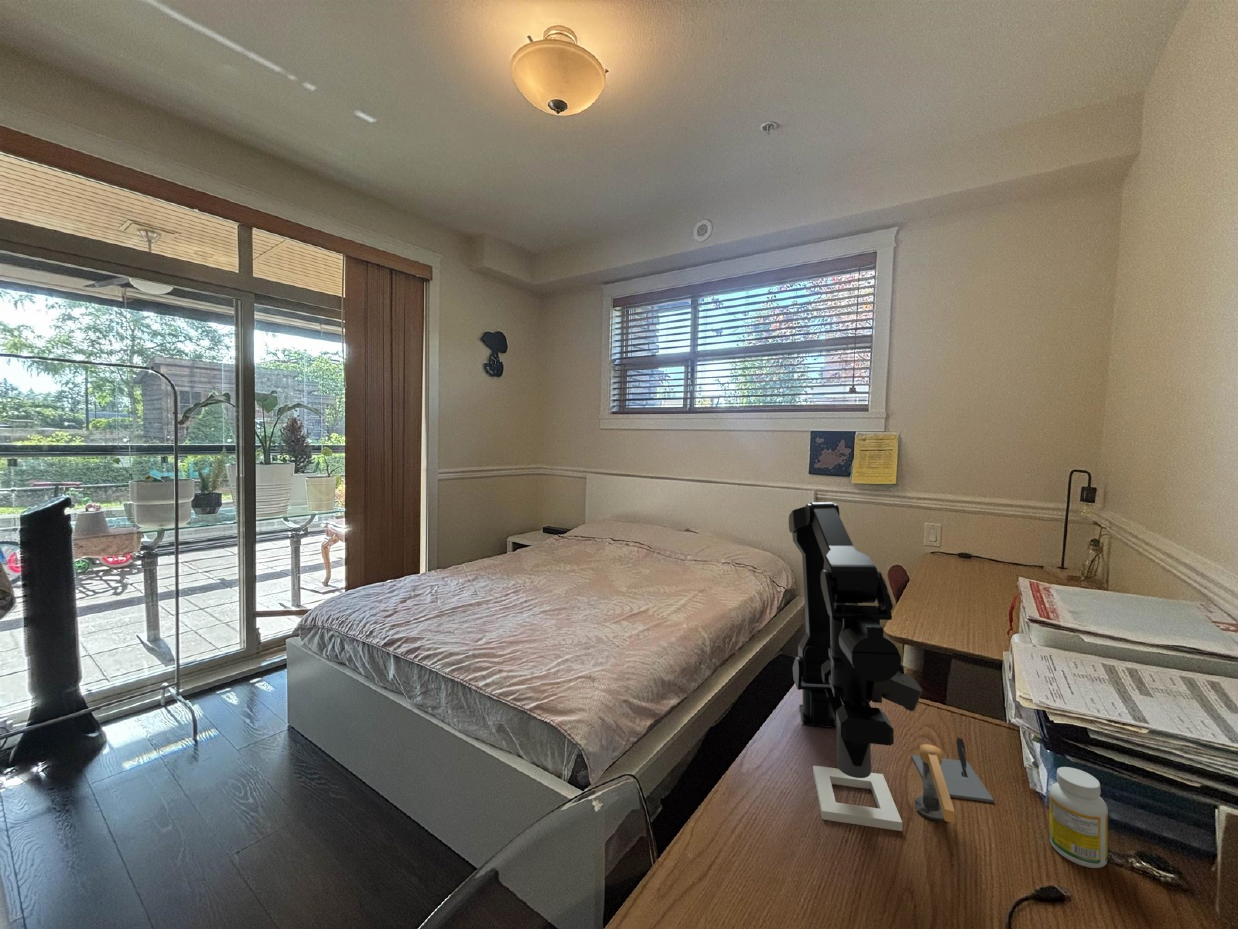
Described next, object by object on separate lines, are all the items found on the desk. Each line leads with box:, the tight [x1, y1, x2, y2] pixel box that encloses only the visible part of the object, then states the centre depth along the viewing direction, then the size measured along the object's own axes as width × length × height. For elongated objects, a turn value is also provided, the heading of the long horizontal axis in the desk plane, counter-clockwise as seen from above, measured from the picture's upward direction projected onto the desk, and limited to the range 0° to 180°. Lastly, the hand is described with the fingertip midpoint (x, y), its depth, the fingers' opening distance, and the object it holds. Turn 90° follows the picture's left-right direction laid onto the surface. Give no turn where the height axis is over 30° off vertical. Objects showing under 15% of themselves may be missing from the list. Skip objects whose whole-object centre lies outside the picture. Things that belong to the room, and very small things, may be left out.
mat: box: [910, 754, 995, 803], centre depth 76 cm, size 9×8×1 cm
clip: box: [919, 743, 956, 824], centre depth 65 cm, size 3×14×1 cm, turn 157°
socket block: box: [812, 765, 903, 832], centre depth 72 cm, size 10×10×1 cm
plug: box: [836, 728, 872, 778], centre depth 72 cm, size 4×4×6 cm
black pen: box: [956, 736, 968, 781], centre depth 80 cm, size 12×1×1 cm, turn 149°
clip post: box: [914, 761, 945, 822], centre depth 70 cm, size 4×4×7 cm
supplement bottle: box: [1049, 766, 1109, 869], centre depth 62 cm, size 5×5×10 cm
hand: (853, 755), depth 72 cm, fingers closed on plug, 4 cm apart
